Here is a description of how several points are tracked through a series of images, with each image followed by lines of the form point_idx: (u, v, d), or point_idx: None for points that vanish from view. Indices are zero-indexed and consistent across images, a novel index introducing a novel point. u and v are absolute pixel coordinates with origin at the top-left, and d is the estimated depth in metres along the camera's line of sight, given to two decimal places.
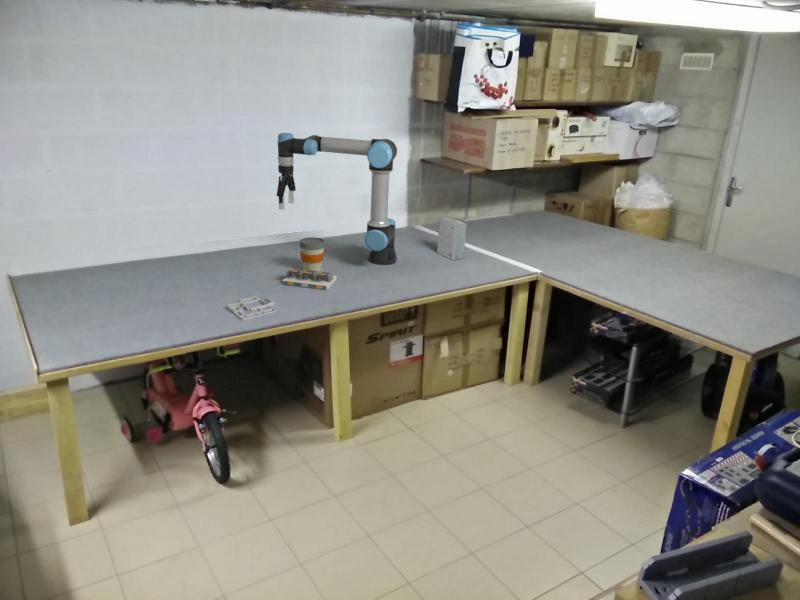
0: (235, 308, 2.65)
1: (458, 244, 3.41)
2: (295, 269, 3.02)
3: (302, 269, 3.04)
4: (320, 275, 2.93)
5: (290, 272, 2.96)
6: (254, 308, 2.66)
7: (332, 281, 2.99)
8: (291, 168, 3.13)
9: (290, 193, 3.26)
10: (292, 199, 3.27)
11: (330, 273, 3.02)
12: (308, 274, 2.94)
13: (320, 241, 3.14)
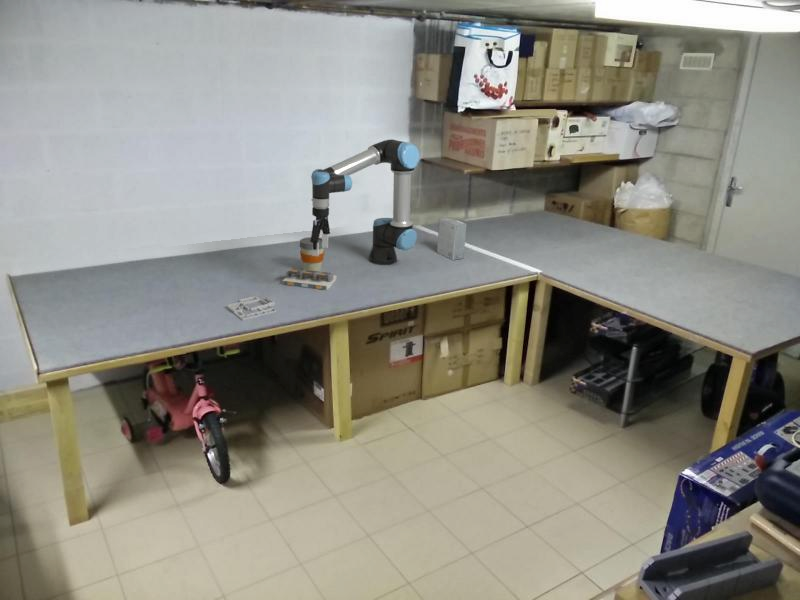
0: (235, 308, 2.65)
1: (458, 244, 3.41)
2: (295, 269, 3.02)
3: (302, 269, 3.04)
4: (320, 275, 2.93)
5: (290, 272, 2.96)
6: (254, 308, 2.66)
7: (332, 281, 2.99)
8: (327, 211, 2.81)
9: (324, 237, 2.94)
10: (326, 243, 2.95)
11: (330, 273, 3.02)
12: (308, 274, 2.94)
13: (320, 241, 3.14)
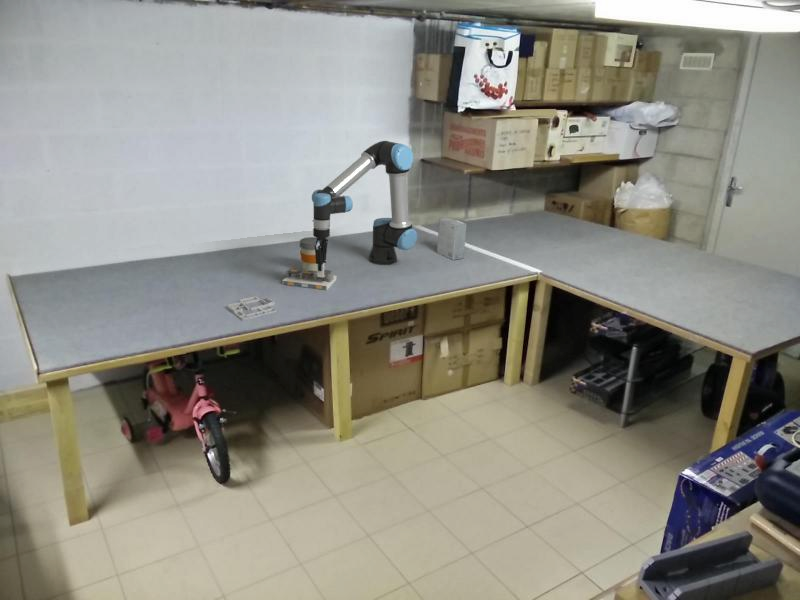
0: (235, 308, 2.65)
1: (458, 244, 3.41)
2: (295, 269, 3.02)
3: (302, 269, 3.04)
4: (320, 277, 2.94)
5: (290, 272, 2.96)
6: (254, 308, 2.66)
7: (332, 281, 2.99)
8: (327, 232, 2.84)
9: None
10: None
11: (330, 271, 3.01)
12: (308, 274, 2.94)
13: None
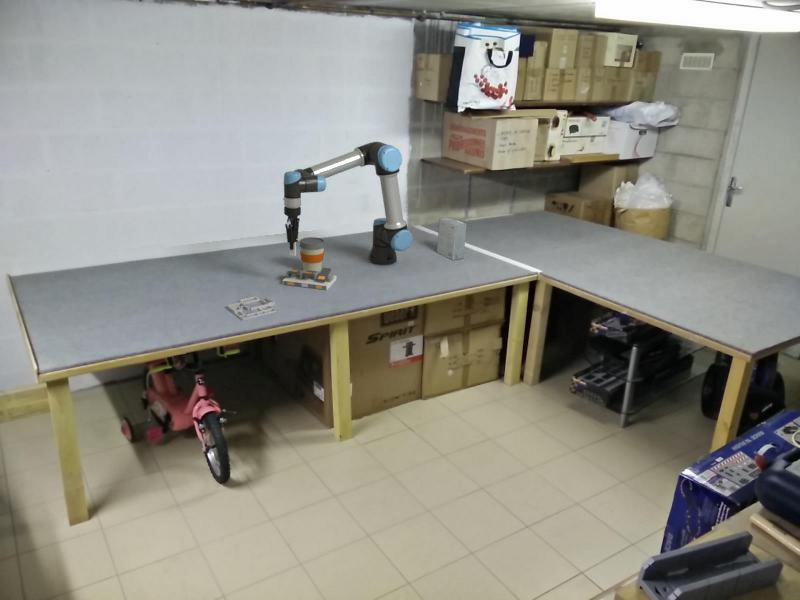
0: (235, 308, 2.66)
1: (458, 244, 3.41)
2: (295, 269, 3.02)
3: (302, 269, 3.04)
4: (320, 280, 2.94)
5: (290, 272, 2.96)
6: (254, 308, 2.66)
7: (332, 281, 2.99)
8: (298, 210, 2.83)
9: None
10: None
11: (330, 269, 3.01)
12: (308, 274, 2.94)
13: (320, 241, 3.14)
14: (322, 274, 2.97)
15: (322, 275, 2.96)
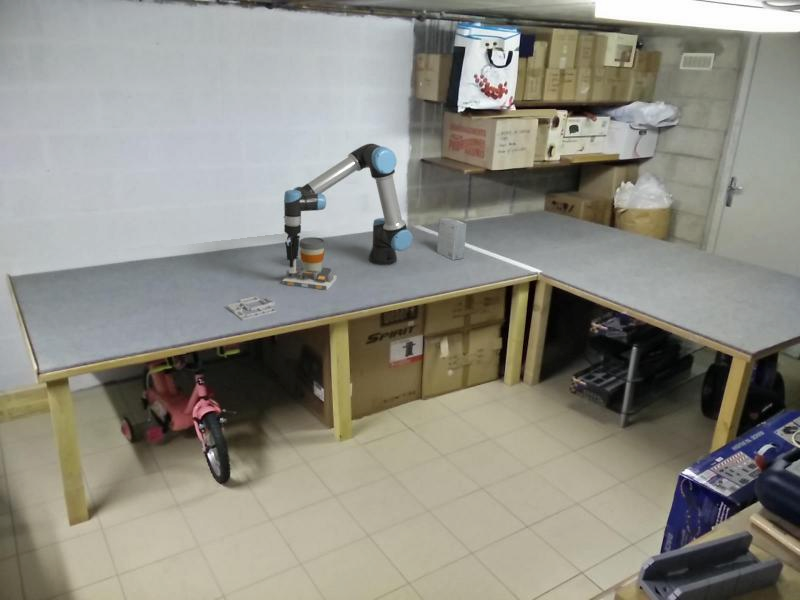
0: (235, 308, 2.66)
1: (458, 244, 3.41)
2: None
3: (302, 268, 3.04)
4: (320, 280, 2.94)
5: (290, 273, 2.96)
6: (254, 308, 2.66)
7: (332, 281, 2.99)
8: (298, 228, 2.86)
9: None
10: None
11: (330, 269, 3.01)
12: (308, 274, 2.94)
13: (320, 241, 3.14)
14: (322, 274, 2.97)
15: (322, 275, 2.96)
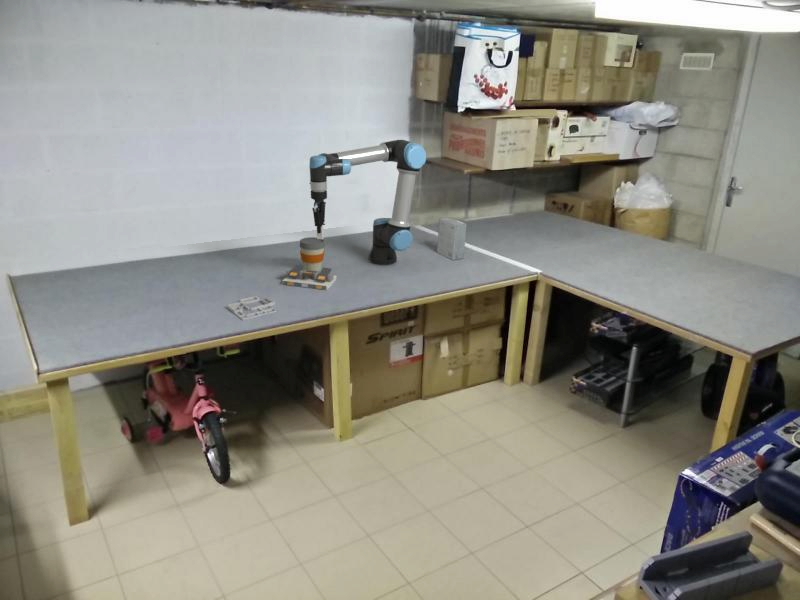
0: (235, 308, 2.66)
1: (458, 244, 3.41)
2: (295, 267, 3.02)
3: (302, 265, 3.03)
4: (320, 280, 2.94)
5: (290, 276, 2.97)
6: (254, 308, 2.66)
7: (332, 281, 2.99)
8: (325, 194, 2.87)
9: None
10: None
11: (330, 269, 3.01)
12: (308, 274, 2.94)
13: (320, 241, 3.14)
14: (322, 274, 2.97)
15: (322, 275, 2.96)
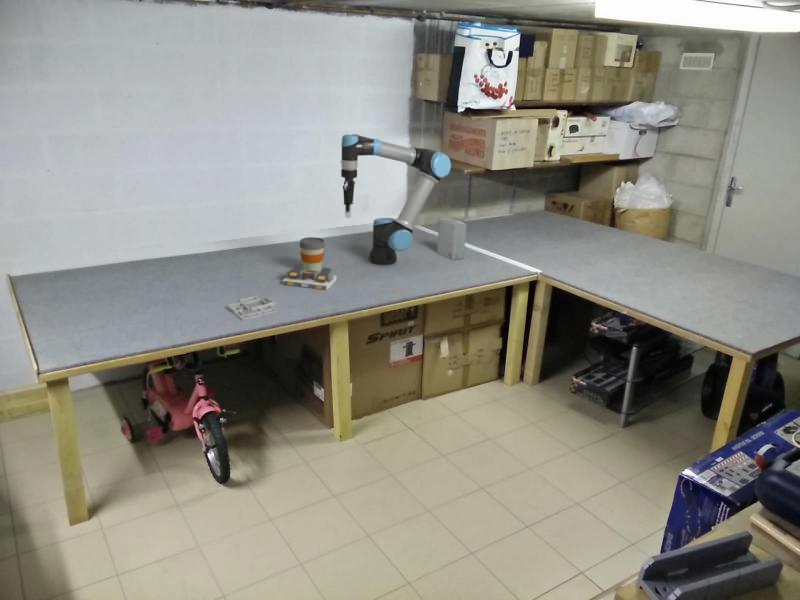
0: (235, 308, 2.66)
1: (458, 244, 3.41)
2: (295, 267, 3.02)
3: (302, 265, 3.03)
4: (320, 280, 2.94)
5: (290, 276, 2.97)
6: (254, 308, 2.66)
7: (332, 281, 2.99)
8: (355, 172, 2.92)
9: None
10: None
11: (330, 269, 3.01)
12: (308, 274, 2.94)
13: (320, 241, 3.14)
14: (322, 274, 2.97)
15: (322, 275, 2.96)
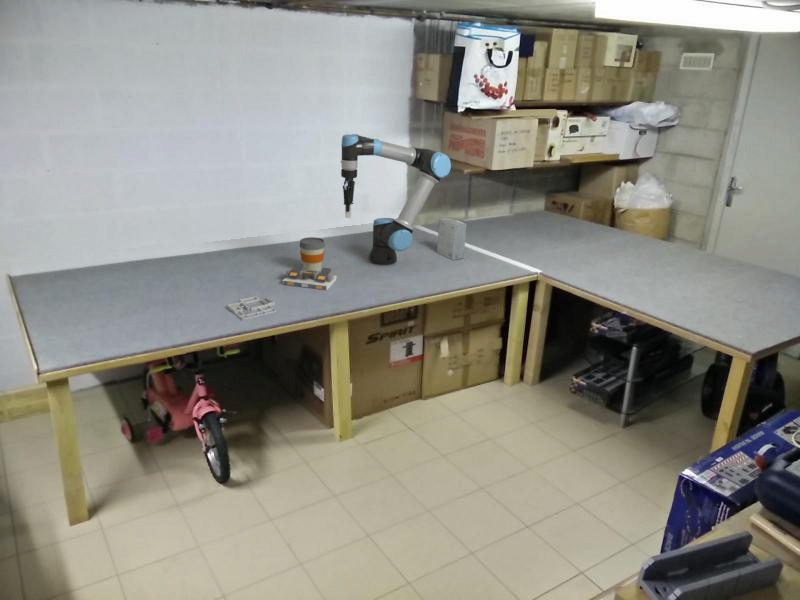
0: (235, 308, 2.66)
1: (458, 244, 3.41)
2: (295, 267, 3.02)
3: (302, 265, 3.03)
4: (320, 280, 2.94)
5: (290, 276, 2.97)
6: (254, 308, 2.66)
7: (332, 281, 2.99)
8: (355, 172, 2.92)
9: None
10: None
11: (330, 269, 3.01)
12: (308, 274, 2.94)
13: (320, 241, 3.14)
14: (322, 274, 2.97)
15: (322, 275, 2.96)
